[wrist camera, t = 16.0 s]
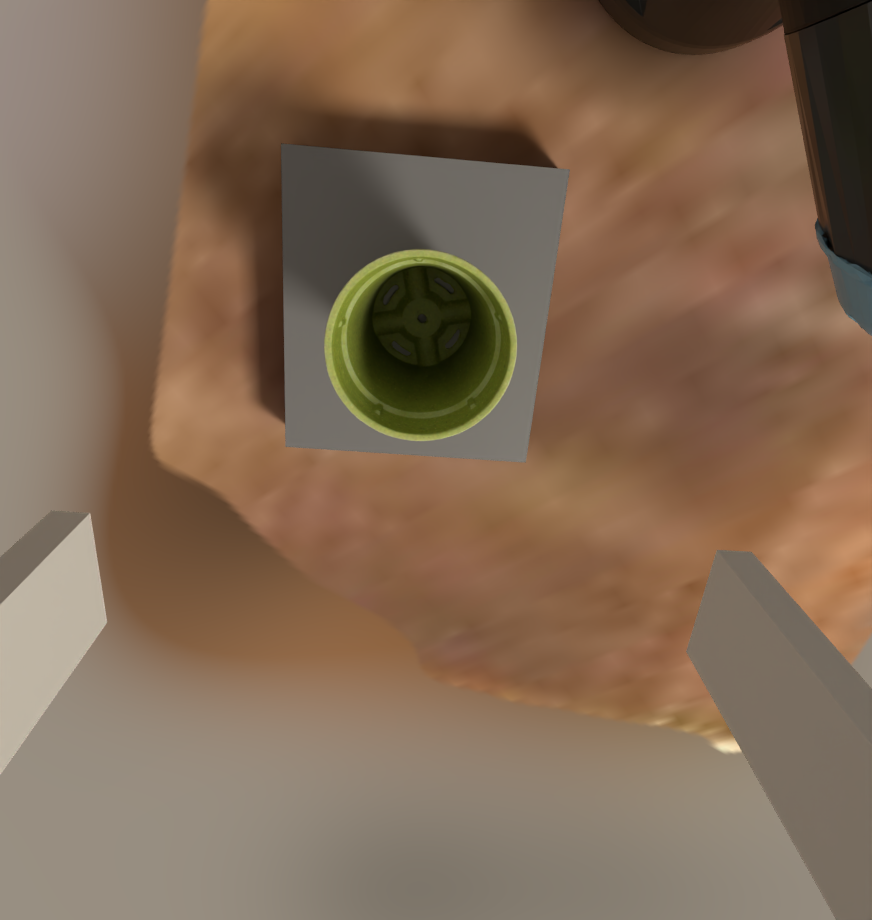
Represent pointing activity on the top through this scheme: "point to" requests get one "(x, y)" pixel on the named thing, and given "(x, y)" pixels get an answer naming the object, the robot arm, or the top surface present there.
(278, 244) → the top surface
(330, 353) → the plant pot
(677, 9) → the robot arm
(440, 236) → the board
